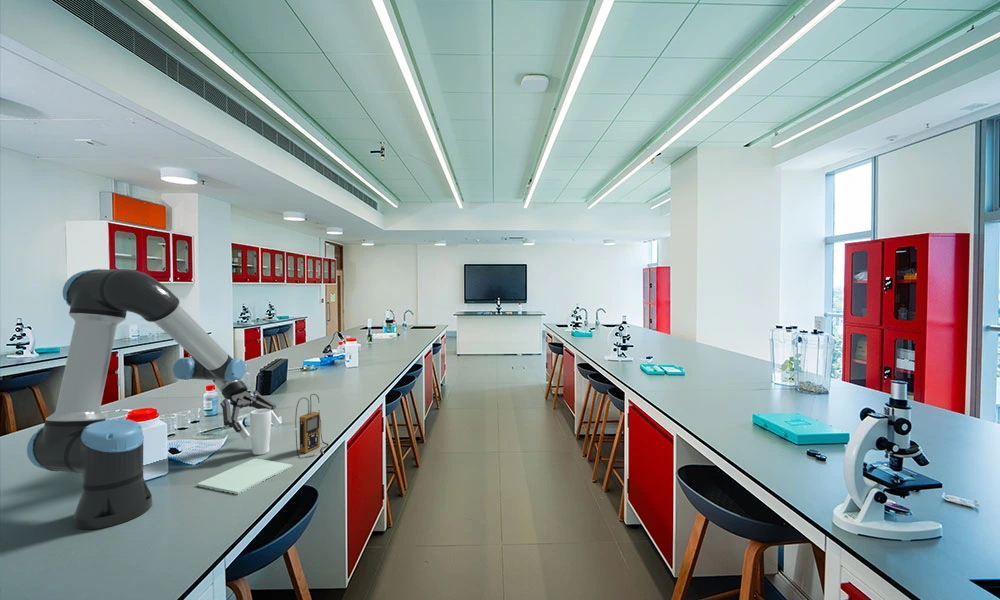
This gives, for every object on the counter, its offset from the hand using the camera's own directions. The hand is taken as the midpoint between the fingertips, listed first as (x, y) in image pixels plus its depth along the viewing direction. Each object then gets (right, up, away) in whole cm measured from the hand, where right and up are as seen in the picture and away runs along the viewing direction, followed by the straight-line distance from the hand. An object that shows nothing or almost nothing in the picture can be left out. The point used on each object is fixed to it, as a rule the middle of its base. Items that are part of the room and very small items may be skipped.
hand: (263, 431), depth 152 cm
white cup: (-1, -8, 0) cm, 8 cm away
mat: (+5, -8, -19) cm, 21 cm away
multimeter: (+19, -8, +2) cm, 20 cm away
